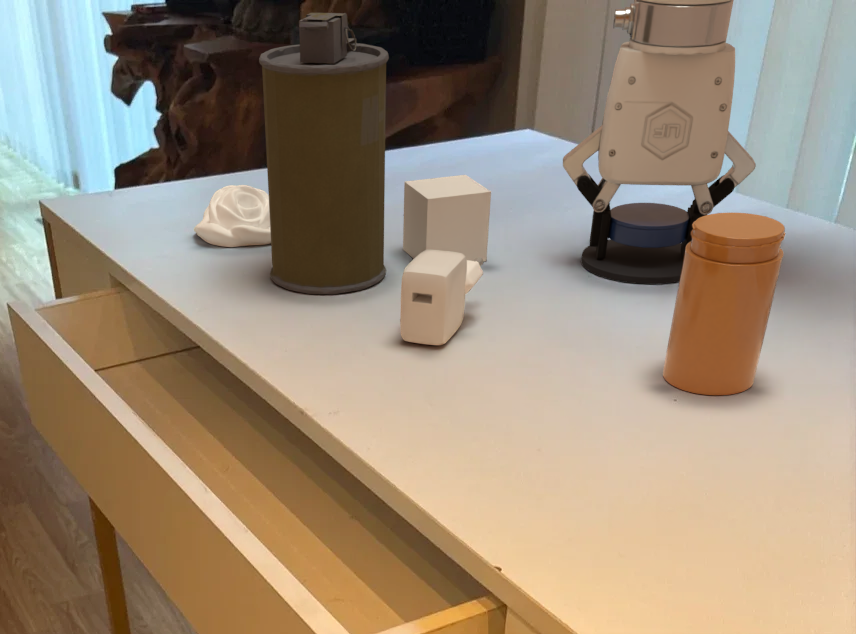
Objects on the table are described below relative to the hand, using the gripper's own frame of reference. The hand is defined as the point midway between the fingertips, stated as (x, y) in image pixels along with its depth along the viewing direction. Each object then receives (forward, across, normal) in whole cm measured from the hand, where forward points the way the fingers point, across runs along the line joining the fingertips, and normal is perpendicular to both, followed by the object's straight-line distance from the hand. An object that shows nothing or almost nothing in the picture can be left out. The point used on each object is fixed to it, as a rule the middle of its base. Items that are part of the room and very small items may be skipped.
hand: (642, 254), depth 100 cm
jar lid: (-3, 0, 0) cm, 3 cm away
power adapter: (+1, -17, -16) cm, 23 cm away
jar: (+1, +3, -25) cm, 25 cm away
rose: (+1, -38, +6) cm, 38 cm away
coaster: (+1, 0, 0) cm, 1 cm away
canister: (+1, -28, -5) cm, 28 cm away
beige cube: (+1, -18, +1) cm, 18 cm away
